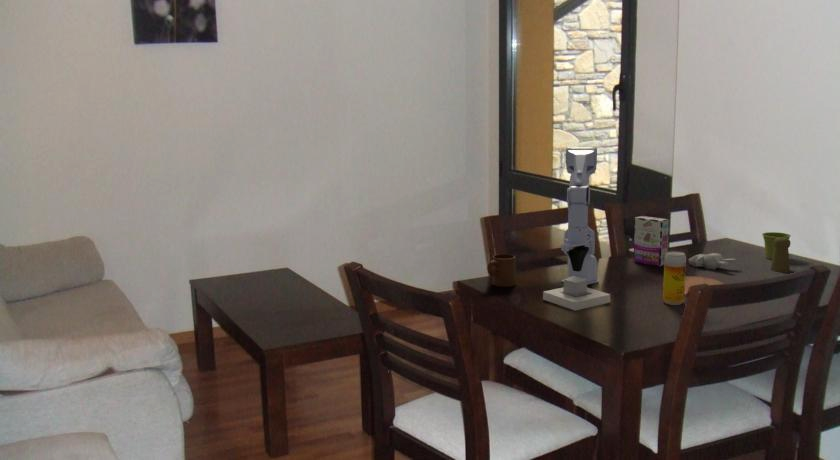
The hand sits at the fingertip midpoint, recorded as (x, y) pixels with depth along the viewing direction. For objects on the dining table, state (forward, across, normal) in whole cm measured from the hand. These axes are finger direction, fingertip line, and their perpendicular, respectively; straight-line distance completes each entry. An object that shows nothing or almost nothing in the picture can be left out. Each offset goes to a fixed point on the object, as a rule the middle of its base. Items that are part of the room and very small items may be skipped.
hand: (576, 270), depth 247 cm
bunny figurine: (+10, -63, +14) cm, 66 cm away
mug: (+10, +1, -28) cm, 30 cm away
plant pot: (+10, -90, +26) cm, 95 cm away
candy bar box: (+10, -56, -5) cm, 57 cm away
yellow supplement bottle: (+10, -17, +23) cm, 30 cm away
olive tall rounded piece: (+10, -75, +34) cm, 83 cm away
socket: (+9, 0, 0) cm, 9 cm away
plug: (+9, 0, -1) cm, 9 cm away
